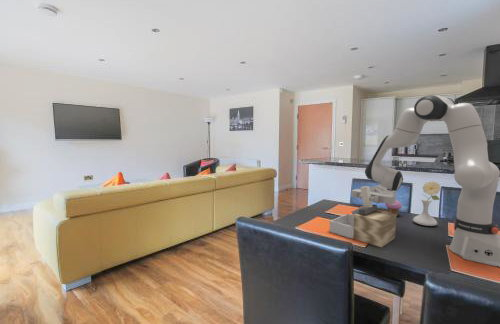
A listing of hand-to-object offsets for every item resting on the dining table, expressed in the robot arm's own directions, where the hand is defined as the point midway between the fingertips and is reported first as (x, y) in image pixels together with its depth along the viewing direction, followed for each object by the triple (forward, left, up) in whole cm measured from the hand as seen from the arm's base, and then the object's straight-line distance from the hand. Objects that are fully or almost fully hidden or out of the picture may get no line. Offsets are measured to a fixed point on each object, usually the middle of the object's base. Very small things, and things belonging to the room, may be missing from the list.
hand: (365, 198), depth 124 cm
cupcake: (+4, -48, -19) cm, 52 cm away
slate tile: (+2, +3, -7) cm, 8 cm away
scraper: (-1, -1, -7) cm, 7 cm away
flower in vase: (-15, -43, -19) cm, 49 cm away
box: (+8, -1, -19) cm, 21 cm away
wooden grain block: (-4, -1, -19) cm, 20 cm away
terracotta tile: (+2, -4, -7) cm, 9 cm away
